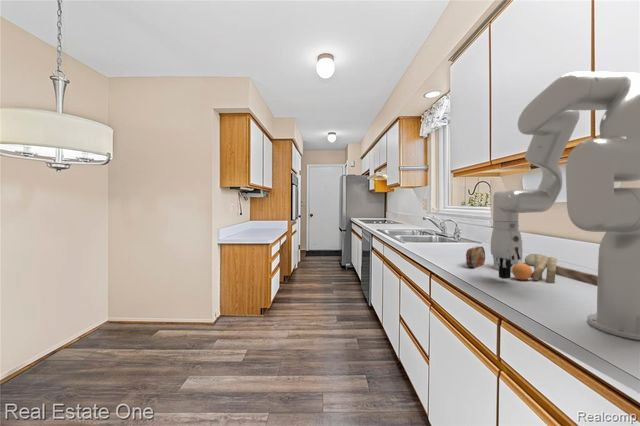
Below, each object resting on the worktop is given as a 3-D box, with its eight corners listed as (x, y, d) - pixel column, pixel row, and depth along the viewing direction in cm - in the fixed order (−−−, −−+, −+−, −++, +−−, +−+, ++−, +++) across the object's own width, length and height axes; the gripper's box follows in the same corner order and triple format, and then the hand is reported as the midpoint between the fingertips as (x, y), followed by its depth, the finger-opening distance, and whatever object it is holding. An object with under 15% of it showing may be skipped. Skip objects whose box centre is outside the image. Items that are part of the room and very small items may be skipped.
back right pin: (556, 283, 101) (558, 258, 101) (550, 283, 101) (552, 258, 101) (550, 280, 104) (552, 257, 103) (544, 280, 104) (546, 257, 103)
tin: (472, 269, 122) (472, 249, 122) (464, 268, 125) (464, 248, 124) (485, 264, 132) (486, 245, 132) (478, 263, 134) (478, 244, 134)
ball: (526, 261, 103) (522, 277, 102) (537, 266, 105) (534, 283, 103) (509, 260, 109) (506, 275, 107) (520, 265, 110) (517, 280, 109)
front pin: (539, 281, 103) (551, 261, 104) (534, 277, 103) (546, 257, 104) (533, 279, 106) (546, 260, 106) (528, 276, 106) (541, 256, 106)
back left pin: (543, 279, 106) (544, 255, 106) (537, 279, 106) (538, 256, 106) (538, 277, 109) (538, 254, 108) (532, 277, 108) (532, 254, 108)
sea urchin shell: (540, 258, 134) (548, 248, 128) (547, 273, 128) (557, 263, 123) (518, 258, 135) (526, 248, 129) (525, 273, 129) (534, 263, 123)
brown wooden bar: (606, 286, 96) (606, 277, 96) (601, 286, 96) (602, 277, 96) (551, 271, 116) (551, 264, 116) (548, 272, 116) (548, 264, 116)
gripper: (532, 228, 95) (531, 283, 96) (499, 224, 110) (499, 272, 111) (511, 228, 95) (510, 284, 95) (481, 224, 109) (480, 273, 110)
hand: (504, 277), depth 103 cm, fingers closed
